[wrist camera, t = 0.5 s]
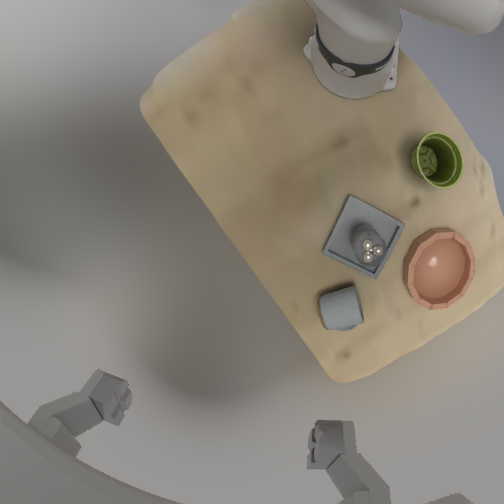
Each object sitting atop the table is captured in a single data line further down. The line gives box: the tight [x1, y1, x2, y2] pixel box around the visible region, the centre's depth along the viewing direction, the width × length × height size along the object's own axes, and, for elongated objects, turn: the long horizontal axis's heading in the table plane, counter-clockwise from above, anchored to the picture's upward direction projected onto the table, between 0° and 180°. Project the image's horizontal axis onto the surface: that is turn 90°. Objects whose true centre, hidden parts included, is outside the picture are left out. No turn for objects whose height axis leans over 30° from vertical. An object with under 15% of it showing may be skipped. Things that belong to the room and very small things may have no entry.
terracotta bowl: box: [403, 228, 475, 310], centre depth 44 cm, size 16×16×4 cm
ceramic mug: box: [317, 285, 364, 331], centre depth 51 cm, size 11×8×8 cm
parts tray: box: [322, 195, 405, 279], centre depth 48 cm, size 12×12×2 cm
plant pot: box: [410, 132, 464, 189], centre depth 37 cm, size 9×9×9 cm
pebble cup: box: [350, 223, 387, 267], centre depth 44 cm, size 5×5×10 cm
